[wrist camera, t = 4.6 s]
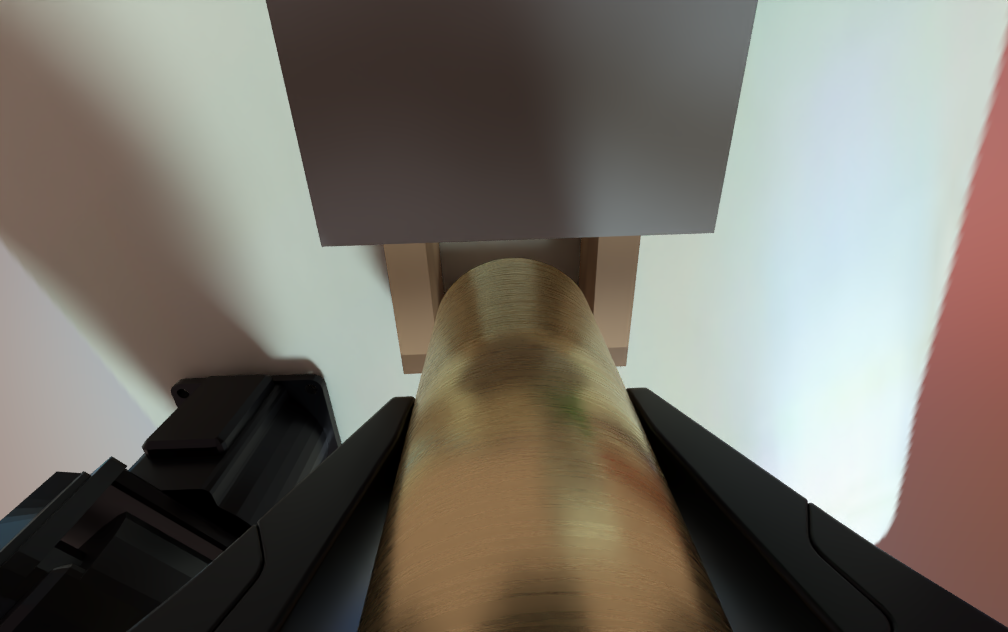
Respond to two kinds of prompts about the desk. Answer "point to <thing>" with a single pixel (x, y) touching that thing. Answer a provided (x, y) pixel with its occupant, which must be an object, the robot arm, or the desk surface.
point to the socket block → (512, 132)
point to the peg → (530, 480)
